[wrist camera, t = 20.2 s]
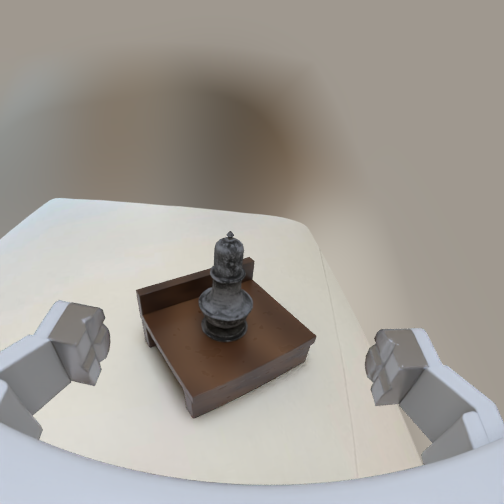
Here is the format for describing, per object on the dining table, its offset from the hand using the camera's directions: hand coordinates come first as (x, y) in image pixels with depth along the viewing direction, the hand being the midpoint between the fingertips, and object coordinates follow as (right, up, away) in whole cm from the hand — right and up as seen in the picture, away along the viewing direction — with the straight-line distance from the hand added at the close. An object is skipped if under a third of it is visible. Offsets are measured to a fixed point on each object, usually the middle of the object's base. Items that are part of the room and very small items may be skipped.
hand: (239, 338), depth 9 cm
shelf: (-3, -10, +29) cm, 31 cm away
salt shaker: (-3, -6, +27) cm, 27 cm away
